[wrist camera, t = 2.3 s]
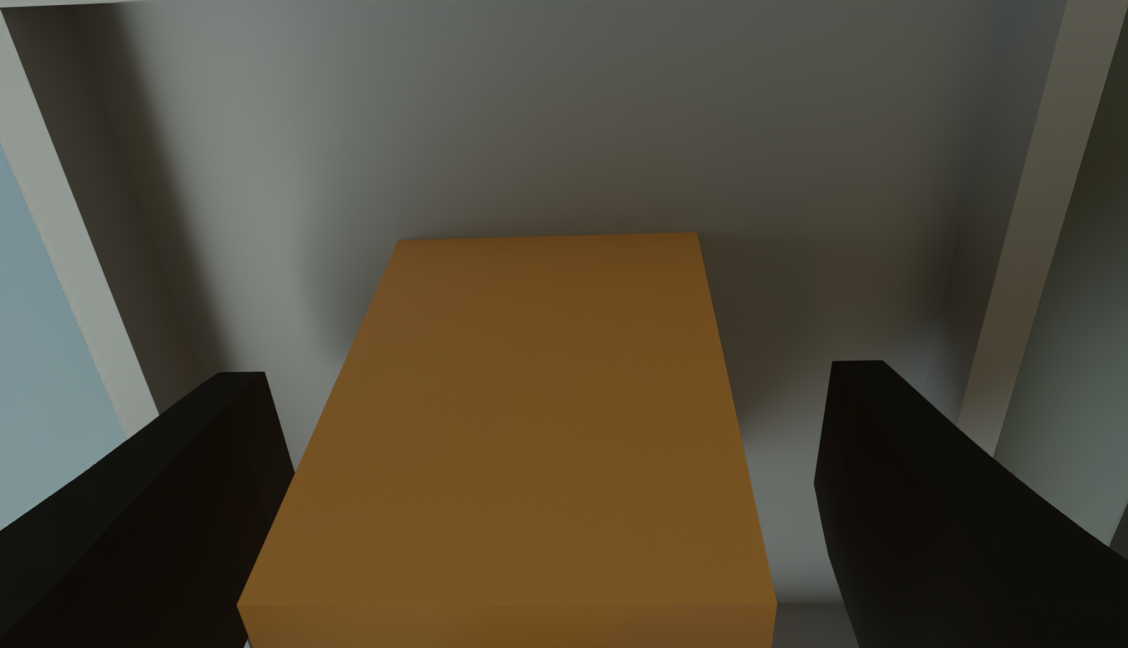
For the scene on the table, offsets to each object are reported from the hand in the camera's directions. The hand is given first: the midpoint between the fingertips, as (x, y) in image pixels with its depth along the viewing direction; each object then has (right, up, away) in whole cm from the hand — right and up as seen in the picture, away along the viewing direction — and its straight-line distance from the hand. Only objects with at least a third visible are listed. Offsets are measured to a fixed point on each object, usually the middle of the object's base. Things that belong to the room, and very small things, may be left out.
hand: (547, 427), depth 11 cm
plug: (0, +1, +1) cm, 2 cm away
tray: (0, +1, +2) cm, 2 cm away
